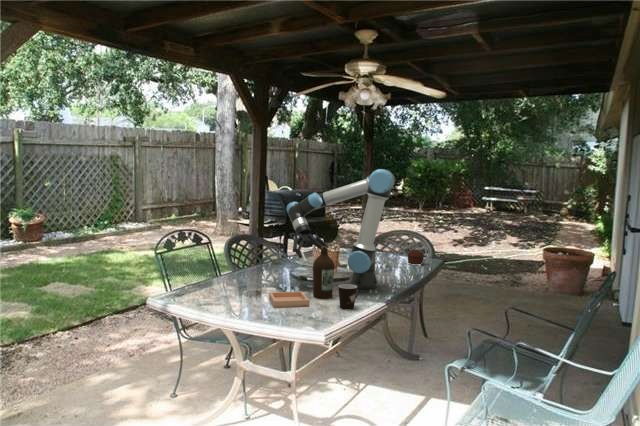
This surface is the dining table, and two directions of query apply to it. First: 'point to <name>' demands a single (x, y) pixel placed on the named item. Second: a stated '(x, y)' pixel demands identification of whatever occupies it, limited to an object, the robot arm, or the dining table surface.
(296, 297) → the bin
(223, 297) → the dining table surface
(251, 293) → the dining table surface
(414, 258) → the muffin
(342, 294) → the coffee mug
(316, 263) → the olive oil
